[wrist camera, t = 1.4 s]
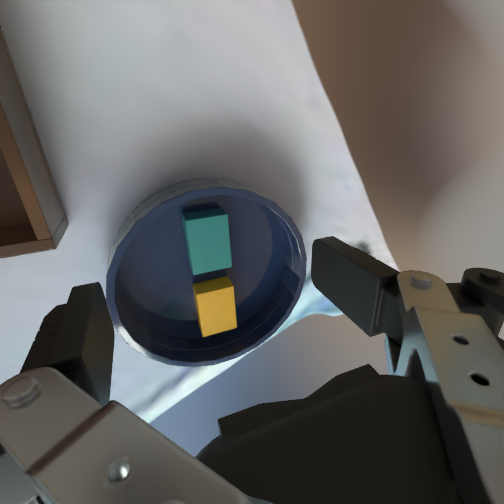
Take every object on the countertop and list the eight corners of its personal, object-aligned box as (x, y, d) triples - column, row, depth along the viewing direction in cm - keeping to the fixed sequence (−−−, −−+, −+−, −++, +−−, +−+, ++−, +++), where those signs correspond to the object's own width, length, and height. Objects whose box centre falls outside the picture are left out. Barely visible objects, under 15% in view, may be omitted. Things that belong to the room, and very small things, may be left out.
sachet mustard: (192, 283, 28) (196, 294, 26) (227, 275, 29) (233, 285, 27) (198, 325, 30) (202, 337, 28) (231, 316, 31) (237, 327, 29)
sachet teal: (181, 213, 25) (185, 220, 23) (221, 207, 26) (227, 213, 24) (189, 265, 27) (193, 275, 25) (226, 257, 28) (232, 267, 26)
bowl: (82, 192, 22) (74, 205, 19) (289, 167, 27) (310, 175, 24) (133, 360, 29) (134, 390, 26) (287, 316, 35) (303, 337, 31)
